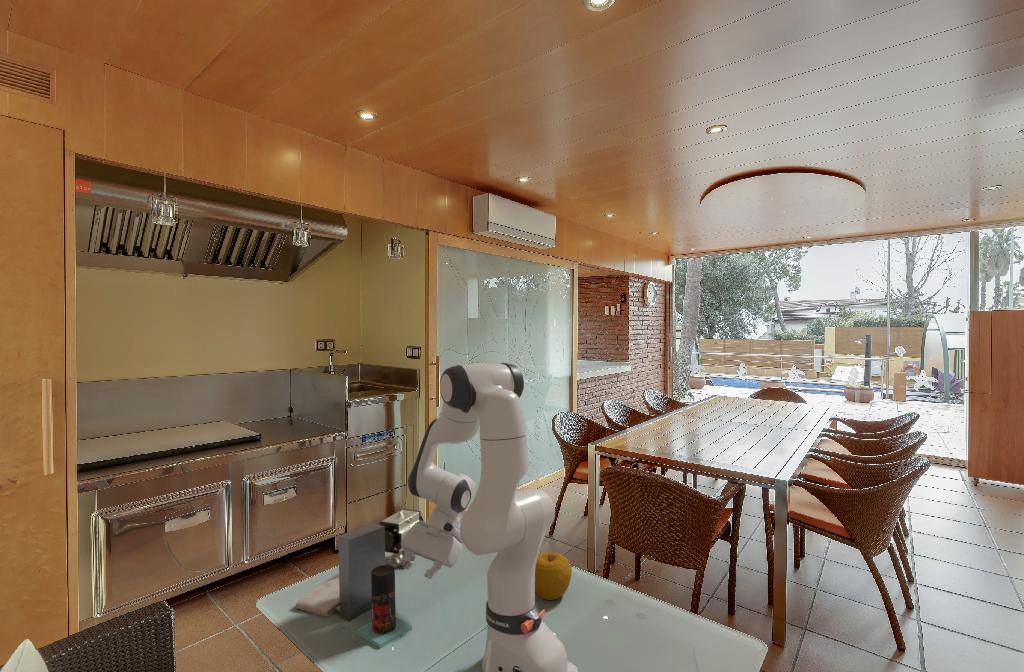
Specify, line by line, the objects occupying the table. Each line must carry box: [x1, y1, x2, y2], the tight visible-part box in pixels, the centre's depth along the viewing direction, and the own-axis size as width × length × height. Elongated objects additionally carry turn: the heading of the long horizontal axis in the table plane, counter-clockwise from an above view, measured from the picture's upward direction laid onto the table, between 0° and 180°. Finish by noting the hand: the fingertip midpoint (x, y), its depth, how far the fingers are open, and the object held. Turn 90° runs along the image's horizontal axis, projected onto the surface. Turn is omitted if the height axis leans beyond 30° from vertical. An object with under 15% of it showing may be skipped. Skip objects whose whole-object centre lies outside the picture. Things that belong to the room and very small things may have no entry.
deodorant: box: [371, 564, 397, 635], centre depth 126 cm, size 6×6×15 cm
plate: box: [355, 616, 413, 649], centre depth 126 cm, size 10×10×1 cm
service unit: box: [334, 522, 386, 623], centre depth 138 cm, size 7×14×22 cm, turn 142°
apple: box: [535, 551, 573, 601], centre depth 142 cm, size 13×13×11 cm
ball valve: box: [379, 508, 424, 569], centre depth 164 cm, size 18×8×18 cm, turn 157°
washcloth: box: [295, 575, 340, 617], centre depth 143 cm, size 12×18×3 cm, turn 158°
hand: (415, 572), depth 134 cm, fingers open, 8 cm apart
